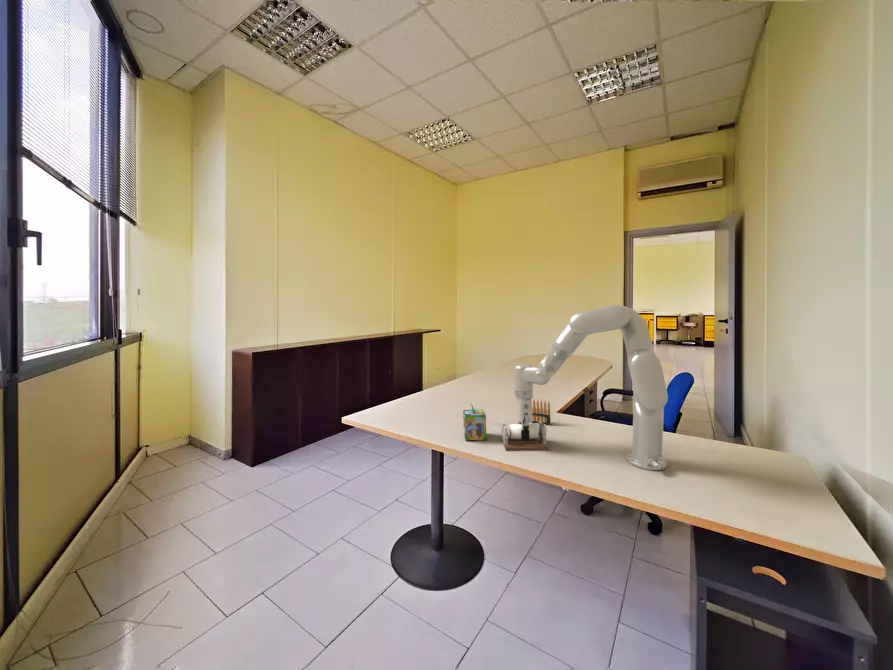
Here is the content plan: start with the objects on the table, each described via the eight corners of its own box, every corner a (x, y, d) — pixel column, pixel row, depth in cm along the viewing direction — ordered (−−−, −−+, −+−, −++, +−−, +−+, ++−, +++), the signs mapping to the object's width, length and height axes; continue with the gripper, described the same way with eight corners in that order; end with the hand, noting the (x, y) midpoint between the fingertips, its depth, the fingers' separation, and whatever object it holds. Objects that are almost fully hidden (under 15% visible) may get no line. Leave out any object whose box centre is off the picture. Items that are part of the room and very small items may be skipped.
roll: (538, 440, 144) (538, 426, 144) (511, 441, 144) (511, 426, 144) (535, 435, 150) (535, 421, 150) (508, 436, 150) (508, 422, 150)
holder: (548, 450, 140) (548, 430, 139) (505, 450, 140) (505, 430, 140) (539, 437, 154) (539, 419, 153) (500, 437, 154) (500, 419, 154)
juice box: (486, 440, 151) (486, 407, 150) (465, 441, 151) (465, 408, 149) (483, 433, 160) (482, 401, 159) (463, 433, 160) (462, 402, 159)
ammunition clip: (527, 422, 174) (528, 398, 173) (528, 421, 175) (529, 397, 174) (549, 425, 169) (550, 401, 168) (550, 424, 170) (550, 400, 169)
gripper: (537, 399, 137) (537, 444, 138) (528, 388, 154) (527, 428, 155) (518, 399, 137) (518, 444, 138) (510, 389, 154) (511, 428, 156)
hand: (523, 435), depth 147 cm, fingers closed on roll, 6 cm apart
